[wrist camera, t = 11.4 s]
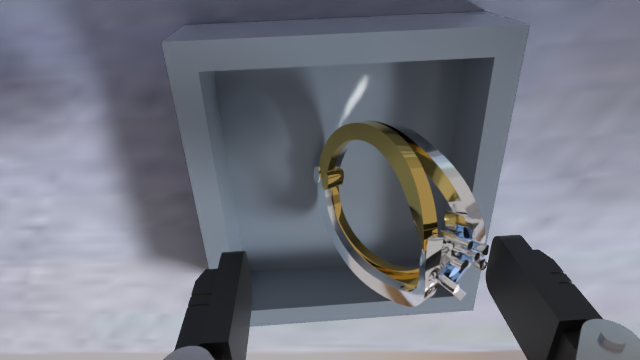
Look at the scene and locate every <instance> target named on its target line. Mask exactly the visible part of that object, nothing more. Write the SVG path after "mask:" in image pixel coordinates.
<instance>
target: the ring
mask: <svg viewBox="0 0 640 360" xmlns="http://www.w3.org/2000/svg"><path fill="white" fill-rule="evenodd" d="M356 140H362V141H365V142H367V143H369V144H371V145H373V146H374V147H376V148H377V149H378V150H379V151H380V152H381V153H382V154H383V155H384V156H385V158H386V159H387V160H388V162H389V163H390V165H391V166H392V168H393V170H394V172H395V173H396V175H397V177H398V179H399V181H400V184H401V186H402V188H403V191H404V193H405V196H406V199H407V201H408V204H409V207H410V210H411V214H412V217H413V220H414V224H415V228H416V232H417V235H418V239H419V241H420V244H421V246H422V251H421V257H420V266H418V267H403V266H398V265H394V264H391V263H389V262H387V261H384V260H383V259H381V258H379V257H378V256H376V255H375V254H373V253H372V252H371V251H370V250H369V249H367V248H366V247H365V246H364V245H363V244H362V243H361V241H360V240H359V239H358V238H357V236H356V235H355V234H354V232H353V231H352V229H351V227H350V226H349V224H348V222H347V220H346V217H345V215H344V212H343V209H342V206H341V201H340V195H339V186H340V185H342V183H343V180H344V172H343V169H342V168H340V167H341V163H342V160H343V157H344V155H345V153H346V151H347V149H348V148H349V147H350V145H351V144H352V143H353V142H355V141H356ZM425 173H426V174H427V175H428V176H429V177H430V178H431V180H432V181H433V182H434V183H435V185H436V186H437V187H438V188H439V190H440V191H441V193H442V194H443V195H444V197H445V199H446V200H447V202H448V203H449V205H450V207H451V209H452V211H453V212H452V211H448V210H446V211H445V218H444V220H445V221H446V223H445V228H446V230H444V229H441V230H440V231H439V233H438V226H437V216H436V209H435V204H434V199H433V195H432V191H431V188H430V185H429V182H428V179H427V176H426V174H425ZM313 176H314V182H315V183H317V193H318V200H319V206H320V210H321V214H322V218H323V221H324V224H325V226H326V229H327V231H328V233H329V236H330V238H331V240H332V242H333V244H334V245H335V247H336V249H337V251H338V252H339V254H340V255H341V257H342V258H343V260H344V261H345V263H346V264H347V265H348V267H349V268H350V269H351V270H352V271H353V272H354V274H355V275H356V276H357V277H358V278H359V279H360V280H361V281H363V282H364V283H365V284H366V285H367V286H369V287H370V288H371V289H373V290H374V291H376V292H377V293H379V294H380V295H382V296H384V297H386V298H388V299H389V300H391V301H394V302H396V303H398V304H401V305H404V306H408V307H415V306H418V305H419V304H421V303H422V302H424V301H425V300H427V299H429V298H430V297H431V296H433V295H434V293H435V292H436V290H437V287H438V283H439V284H441V285H442V286H443V287H445V288H446V289H447V290H448V291H449V292H450V293H452V294H453V295H454V296H455V297H456V298H458V299H459V300H460V301H461V300H462V299H463V298H464V296H465V295H466V294H467V293H466V292H465V291H463V290H462V289H461V288H460V287H459V284H457V283H456V282H457V281H458V280H459V279H460V278H461V277H462V275H463V274H464V273H465V271H466V270H467V269H468V268H469V267H470V266H471V264H473V265H474V266H475V267H477V268H478V269H479V270H481V271H482V270H484V269H485V268H486V266H487V264H488V263H487V262H486V261H485V258H483V257H481V256H480V254H483V255H487V254H488V248H489V245H487V244H484V243H485V239H486V231H485V226H484V222H483V219H482V216H481V213H480V211H479V208H478V206H477V203H476V201H475V199H474V197H473V195H472V193H471V191H470V189H469V187H468V185H467V184H466V182H465V181H464V179H463V178H462V176H461V175H460V174H459V172H458V171H457V170H456V168H455V167H454V166H453V165H452V164H451V163H450V162H449V160H448V159H447V158H446V157H445V156H444V155H443V154H442V153H441V152H440V151H438V150H437V149H436V148H435V147H434V146H433V145H432V144H431V143H429V142H428V141H427V140H426V139H424V138H423V137H422V136H420V135H419V134H418V133H416V132H415V131H413V130H411V129H410V128H408V127H406V126H404V125H402V124H399V123H397V122H394V121H390V120H383V119H374V120H367V121H359V122H354V123H349V124H346V125H343V126H341V127H340V128H338V129H337V130H335V131H334V132H333V133H332V134H331V136H330V137H329V138H328V140H327V142H326V144H325V146H324V148H323V150H322V153H321V157H320V161H319V166H316V167H315V169H314V175H313Z"/></svg>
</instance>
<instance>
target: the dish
mask: <svg viewBox="0 0 640 360" xmlns="http://www.w3.org/2000/svg"><path fill="white" fill-rule="evenodd" d="M529 26H530V25H529V24H526V23H522V22H519V21H516V20H513V19H510V18H506V17H503V16H500V15H497V14H494V13H490V12H487V11H479V12H457V13H435V14H413V15H391V16H369V17H347V18H324V19H302V20H280V21H258V22H236V23H214V24H192V25H184V26H183V27H181V28H180V29H179V30H177V31H176V32H174V33H173V34H172V35H170V36H169V37H167V38H166V39H165V40H163V41H162V42H161V44H162V49H163V54H164V58H165V63H166V68H167V73H168V77H169V82H170V87H171V92H172V96H173V101H174V106H175V110H176V115H177V120H178V125H179V129H180V134H181V139H182V144H183V148H184V153H185V158H186V163H187V167H188V172H189V177H190V182H191V186H192V191H193V196H194V201H195V205H196V210H197V215H198V219H199V224H200V229H201V234H202V238H203V243H204V248H205V253H206V257H207V262H208V267H209V269H218V265H219V261H220V257H221V254H222V252H234V251H246V253H247V259H248V265H249V272H250V279H251V285H252V311H251V319H250V326H264V325H278V324H291V323H305V322H319V321H333V320H346V319H360V318H374V317H387V316H401V315H415V314H429V313H442V312H456V311H470V310H473V308H474V303H475V298H476V293H477V288H478V283H479V278H480V273H481V270H479V269H478V268H477V267H475V266H474V265H473V264H471V266H470V267H469V268H468V269H467V270H466V271H465V273H464V274H463V275H462V277H461V278H460V279H459V280H458V281H457V282H456V283H457V284H459V287H460V288H461V289H462V290H463V291H465V292H466V293H467V294H466V295H465V296H464V298H463V299H462V300H461V301H460V300H459V299H458V298H456V297H455V296H454V295H453V294H452V293H450V292H449V291H448V290H447V289H446V288H445V287H443V286H442V285H441V284H439V283H438V287H437V290H436V292H435V293H434V295H433V296H431V297H430V298H429V299H427V300H425V301H424V302H422V303H421V304H419V305H418V306H415V307H408V306H404V305H401V304H398V303H396V302H394V301H391V300H389V299H388V298H386V297H384V296H382V295H380V294H379V293H377V292H376V291H374V290H373V289H371V288H370V287H369V286H367V285H366V284H365V283H364V282H363V281H361V280H360V279H359V278H358V277H357V276H356V275H355V274H354V272H353V271H352V270H351V269H350V268H349V267H348V265H347V264H346V263H345V261H344V260H343V258H342V257H341V255H340V254H339V252H338V251H337V249H336V247H335V245H334V244H333V242H332V240H331V238H330V236H329V233H328V231H327V229H326V226H325V224H324V221H323V218H322V214H321V210H320V206H319V200H318V193H317V183H315V182H314V176H313V175H314V169H315V167H316V166H319V161H320V157H321V153H322V150H323V148H324V146H325V144H326V142H327V140H328V138H329V137H330V136H331V134H332V133H333V132H334V131H335V130H337V129H338V128H340V127H341V126H343V125H346V124H349V123H354V122H359V121H367V120H374V119H383V120H390V121H394V122H397V123H399V124H402V125H404V126H406V127H408V128H410V129H411V130H413V131H415V132H416V133H418V134H419V135H420V136H422V137H423V138H424V139H426V140H427V141H428V142H429V143H431V144H432V145H433V146H434V147H435V148H436V149H437V150H438V151H440V152H441V153H442V154H443V155H444V156H445V157H446V158H447V159H448V160H449V162H450V163H451V164H452V165H453V166H454V167H455V168H456V170H457V171H458V172H459V174H460V175H461V176H462V178H463V179H464V181H465V182H466V184H467V185H468V187H469V189H470V191H471V193H472V195H473V197H474V199H475V201H476V203H477V206H478V208H479V211H480V213H481V216H482V219H483V222H484V226H485V231H486V239H485V243H484V244H486V243H487V238H488V233H489V227H490V222H491V217H492V212H493V207H494V202H495V197H496V192H497V187H498V182H499V177H500V172H501V167H502V162H503V157H504V152H505V147H506V142H507V137H508V132H509V127H510V122H511V117H512V112H513V107H514V102H515V97H516V92H517V86H518V81H519V76H520V71H521V66H522V61H523V56H524V51H525V46H526V41H527V36H528V31H529ZM340 168H342V169H343V172H344V180H343V183H342V185H340V186H339V195H340V201H341V206H342V209H343V212H344V215H345V217H346V220H347V222H348V224H349V226H350V227H351V229H352V231H353V232H354V234H355V235H356V236H357V238H358V239H359V240H360V241H361V243H362V244H363V245H364V246H365V247H366V248H367V249H369V250H370V251H371V252H372V253H373V254H375V255H376V256H378V257H379V258H381V259H383V260H384V261H387V262H389V263H391V264H394V265H398V266H403V267H418V266H420V257H421V251H422V246H421V244H420V241H419V239H418V235H417V232H416V228H415V224H414V220H413V217H412V214H411V210H410V207H409V204H408V201H407V199H406V196H405V193H404V191H403V188H402V186H401V184H400V181H399V179H398V177H397V175H396V173H395V172H394V170H393V168H392V166H391V165H390V163H389V162H388V160H387V159H386V158H385V156H384V155H383V154H382V153H381V152H380V151H379V150H378V149H377V148H376V147H374V146H373V145H371V144H369V143H367V142H365V141H362V140H356V141H355V142H353V143H352V144H351V145H350V147H349V148H348V149H347V151H346V153H345V155H344V157H343V160H342V163H341V167H340ZM425 174H426V173H425ZM426 176H427V179H428V182H429V185H430V188H431V191H432V195H433V199H434V204H435V209H436V216H437V226H438V233H439V231H440V230H441V229H444V230H446V228H445V223H446V221H445V220H444V218H445V211H446V210H448V211H452V209H451V207H450V205H449V203H448V202H447V200H446V199H445V197H444V195H443V194H442V193H441V191H440V190H439V188H438V187H437V186H436V185H435V183H434V182H433V181H432V180H431V178H430V177H429V176H428V175H427V174H426ZM452 212H453V211H452ZM480 256H481V257H483V258H484V255H483V254H480Z"/></svg>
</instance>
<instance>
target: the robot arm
mask: <svg viewBox="0 0 640 360" xmlns="http://www.w3.org/2000/svg"><path fill="white" fill-rule="evenodd" d="M486 284H487V287H488V290H489V292H490V294H491V296H492V298H493V300H494V301H495V303H496V305H497V307H498V308H499V310H500V312H501V314H502V315H503V317H504V319H505V321H506V322H507V324H508V326H509V328H510V330H511V331H512V333H513V335H514V337H515V338H516V340H517V342H518V344H519V345H520V347H521V349H522V351H523V352H524V354H525V356H526V358H527V359H528V360H640V339H639V338H638V337H637V336H636V335H635V334H634V333H633V332H632V331H630V330H629V329H627V328H626V327H624V326H622V325H620V324H618V323H615V322H613V321H609V320H605V319H603V318H602V317H601V316H600V315H599V314H598V312H597V311H596V310H595V309H594V308H593V306H592V305H591V304H590V303H589V302H588V300H587V299H586V298H585V297H584V296H583V294H582V293H581V292H580V291H579V290H578V289H577V287H576V286H575V285H574V284H572V281H571V280H570V279H569V278H568V277H567V275H566V274H564V273H563V271H562V269H561V268H560V267H559V266H558V265H557V263H556V262H555V261H554V260H553V259H552V258H550V257H549V256H547V255H546V254H544V253H543V252H541V251H540V250H532V248H531V247H530V246H529V245H528V243H527V242H526V241H525V240H524V238H523V237H522V236H520V235H509V236H496V237H494V239H493V241H492V245H491V250H490V255H489V260H488V265H487V270H486ZM251 311H252V285H251V279H250V272H249V265H248V259H247V253H246V251H234V252H222V254H221V257H220V261H219V265H218V269H206V270H205V271H204V272H203V273H202V274H201V275H200V277H199V278H198V279H197V280H196V281H195V285H194V288H193V291H192V297H191V298H190V301H189V304H188V308H187V311H186V314H185V318H184V321H183V324H182V327H181V331H180V334H179V337H178V341H177V344H176V347H175V350H174V351H173V352H172V353H170V354H169V355H168V356H167V357H166V358H164V360H246V352H247V344H248V335H249V327H250V319H251Z"/></svg>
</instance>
